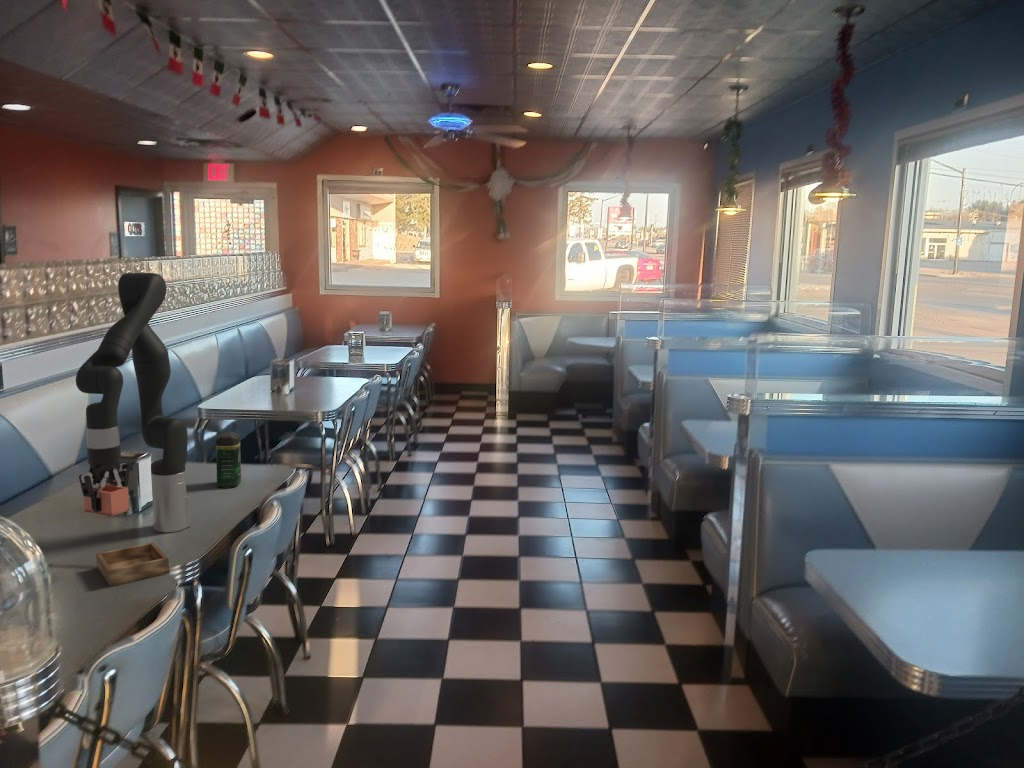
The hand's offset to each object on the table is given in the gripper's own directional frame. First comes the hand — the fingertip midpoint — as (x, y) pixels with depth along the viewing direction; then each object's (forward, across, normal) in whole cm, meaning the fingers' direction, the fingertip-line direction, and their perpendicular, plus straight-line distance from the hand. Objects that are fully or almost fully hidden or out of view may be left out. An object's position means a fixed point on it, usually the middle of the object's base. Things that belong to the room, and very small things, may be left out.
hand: (107, 507), depth 200 cm
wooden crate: (+16, 0, -8) cm, 18 cm away
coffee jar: (+15, +70, +20) cm, 74 cm away
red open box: (+1, 0, 0) cm, 1 cm away
